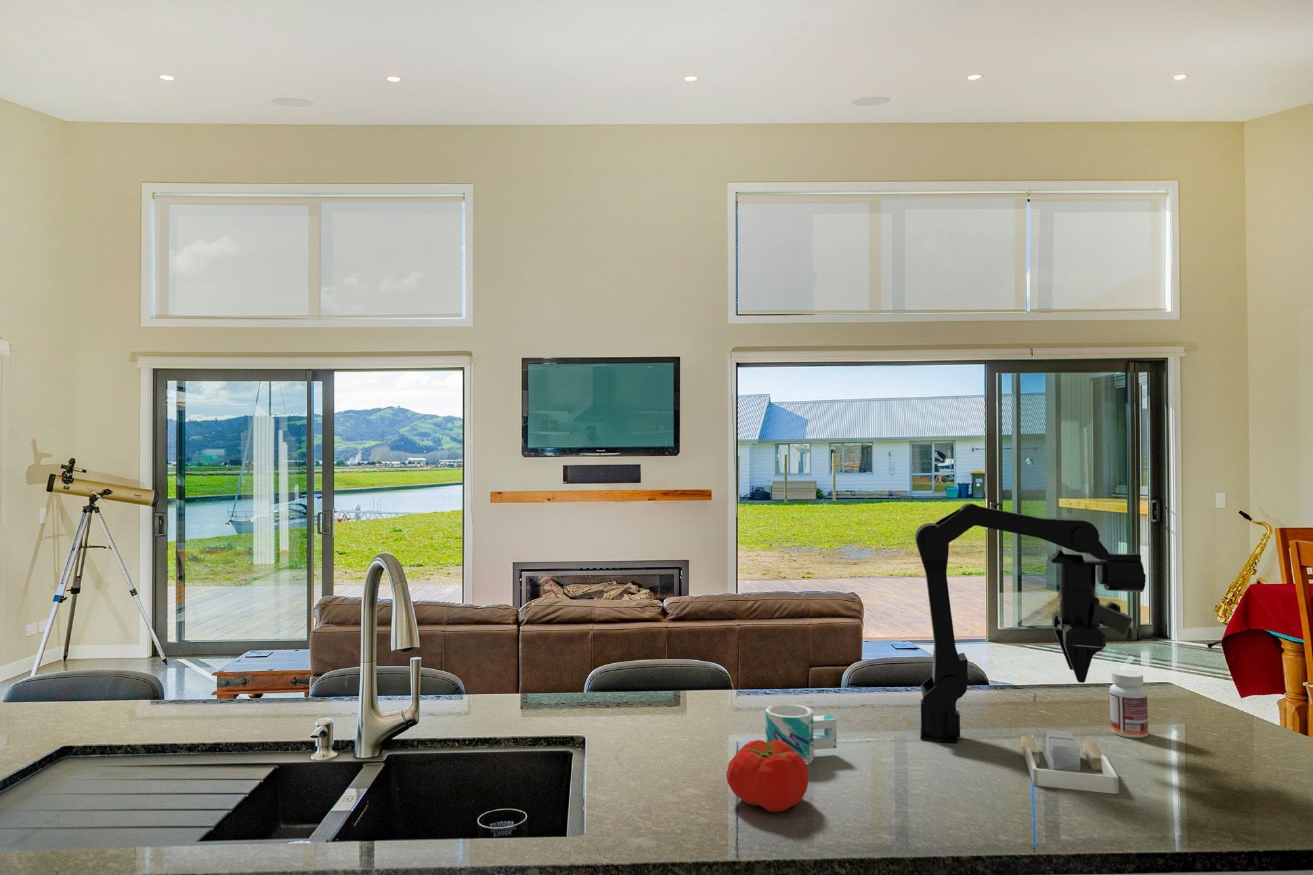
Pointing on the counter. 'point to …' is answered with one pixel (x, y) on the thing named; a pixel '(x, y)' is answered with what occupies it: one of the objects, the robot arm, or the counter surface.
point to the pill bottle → (1128, 704)
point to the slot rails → (1089, 751)
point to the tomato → (768, 775)
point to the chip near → (1064, 754)
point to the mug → (800, 729)
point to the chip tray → (1074, 777)
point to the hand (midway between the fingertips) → (1077, 675)
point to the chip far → (1057, 735)
